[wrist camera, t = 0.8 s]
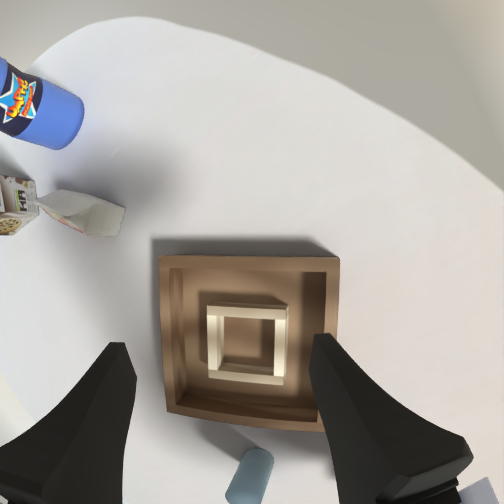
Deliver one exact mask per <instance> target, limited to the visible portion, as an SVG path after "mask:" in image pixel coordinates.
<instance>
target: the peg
mask: <svg viewBox="0 0 504 504" xmlns="http://www.w3.org/2000/svg"><path fill="white" fill-rule="evenodd" d="M273 464H274V458H273V456H272V455H271V454H270V453H269V452H268V451H266V450H264V449H259V448H253V449H250V450H248V451H246V452H245V454H244V456H243V458H242V460H241V462H240V464H239V466H238V469H237V471H236V473H235V475H234V477H233V479H232V481H231V483H230V485H229V487H228V489H227V491H226V494H225V497H226V500H227V501H228V502H229V503H230V504H261V502H262V499H263V496H264V493H265V490H266V486H267V483H268V480H269V477H270V474H271V471H272V468H273Z"/></svg>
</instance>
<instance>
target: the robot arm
mask: <svg viewBox="0 0 504 504" xmlns="http://www.w3.org/2000/svg"><path fill="white" fill-rule="evenodd" d="M309 375H310V381H311V386H312V391H313V395H314V398H315V401H316V404H317V407H318V410H319V413H320V416H321V419H322V422H323V425H324V429H325V432H326V435H327V438H328V441H329V445H330V449H331V454H332V459H333V465H334V470H335V476H336V482H337V489H338V496H339V503H340V504H499V501H498V499H497V497H496V494H495V492H494V490H493V488H492V485H491V483H490V481H489V479H488V477H485V478H483V479H481V480H479V481H477V482H475V483H474V484H472V485H470V486H468V487H466V488H464V489H462V490H461V491H459V492H458V491H457V489H456V486H458V485H459V482H458V480H457V478H456V477H457V476H458V475H459V474H460V473H461V472H462V471H463V470H464V469H465V468H466V467H467V466H468V465H469V464H470V463H471V462H472V460H473V458H474V457H473V454H472V452H471V450H470V448H469V446H468V444H467V442H466V440H465V439H464V437H462V436H459V435H457V434H454V433H452V432H450V431H447V430H445V429H443V428H440V427H438V426H437V425H435V424H433V423H431V422H429V421H427V420H425V419H424V418H422V417H420V416H419V415H417V414H415V413H414V412H412V411H411V410H409V409H408V408H406V407H405V406H403V405H402V404H401V403H399V402H398V401H396V400H395V399H394V398H393V397H391V396H390V395H389V394H388V393H387V392H385V391H384V390H383V389H382V388H381V387H380V386H379V385H377V384H376V383H375V382H374V381H373V380H372V379H371V378H370V377H369V376H368V375H367V374H366V373H365V372H364V371H363V370H362V369H361V368H360V367H359V366H358V365H357V363H356V362H355V361H354V360H353V359H352V358H351V357H350V356H349V355H348V353H347V352H346V351H345V350H344V349H343V348H342V346H341V345H340V344H339V343H338V342H337V340H336V339H335V338H334V337H333V336H332V334H330V333H321V334H314V338H313V345H312V351H311V358H310V364H309ZM136 382H137V376H136V373H135V371H134V368H133V365H132V363H131V360H130V357H129V354H128V352H127V349H126V346H125V343H124V342H110V343H109V344H108V345H107V346H106V348H105V349H104V350H103V351H102V353H101V354H100V355H99V357H98V358H97V359H96V360H95V362H94V363H93V364H92V366H91V367H90V368H89V369H88V371H87V372H86V373H85V374H84V375H83V377H82V378H81V379H80V380H79V382H78V383H77V384H76V385H75V386H74V387H73V389H72V390H71V391H70V392H69V393H68V394H67V395H66V396H65V398H64V399H63V400H62V401H61V402H60V403H59V404H58V405H57V406H56V407H55V408H54V409H53V410H51V411H50V412H49V413H48V414H47V415H46V416H45V417H44V418H42V419H41V420H40V421H39V422H37V423H36V424H35V425H34V426H32V427H31V428H30V429H28V430H27V431H26V432H24V433H23V434H21V435H20V436H18V437H17V438H15V439H14V440H12V441H10V442H9V443H7V444H5V445H3V446H1V447H0V495H1V496H3V497H4V498H5V499H7V500H8V504H122V476H123V459H124V450H125V444H126V439H127V434H128V429H129V425H130V420H131V415H132V411H133V406H134V401H135V393H136ZM0 504H2V503H0Z"/></svg>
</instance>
